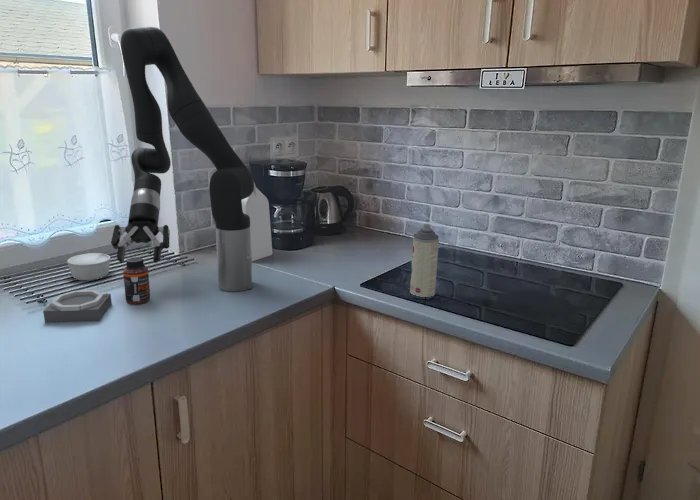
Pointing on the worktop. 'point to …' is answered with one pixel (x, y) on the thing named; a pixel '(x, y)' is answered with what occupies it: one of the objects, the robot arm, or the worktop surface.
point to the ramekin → (89, 266)
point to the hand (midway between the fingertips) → (138, 261)
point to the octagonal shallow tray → (78, 307)
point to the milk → (258, 224)
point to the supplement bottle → (136, 281)
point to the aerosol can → (424, 262)
